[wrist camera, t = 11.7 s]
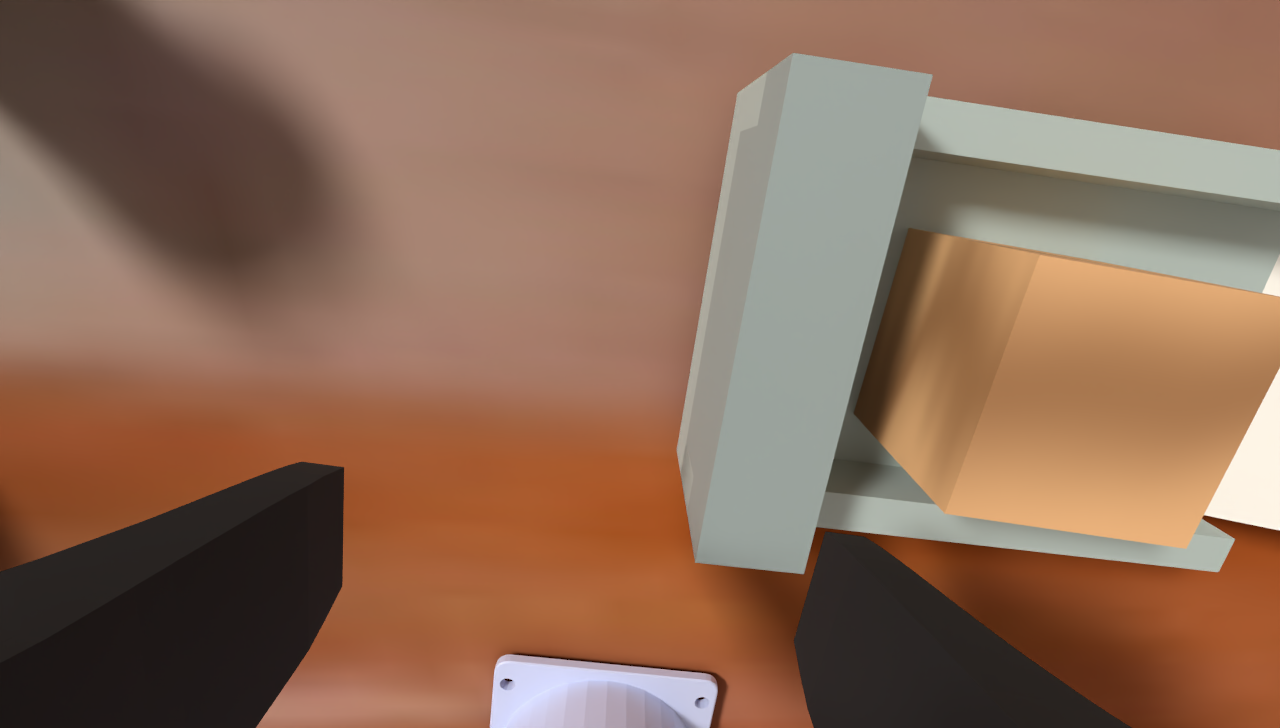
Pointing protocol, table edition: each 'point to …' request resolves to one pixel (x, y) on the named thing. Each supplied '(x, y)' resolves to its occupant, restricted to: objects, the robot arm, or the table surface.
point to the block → (1065, 386)
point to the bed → (864, 271)
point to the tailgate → (1255, 459)
